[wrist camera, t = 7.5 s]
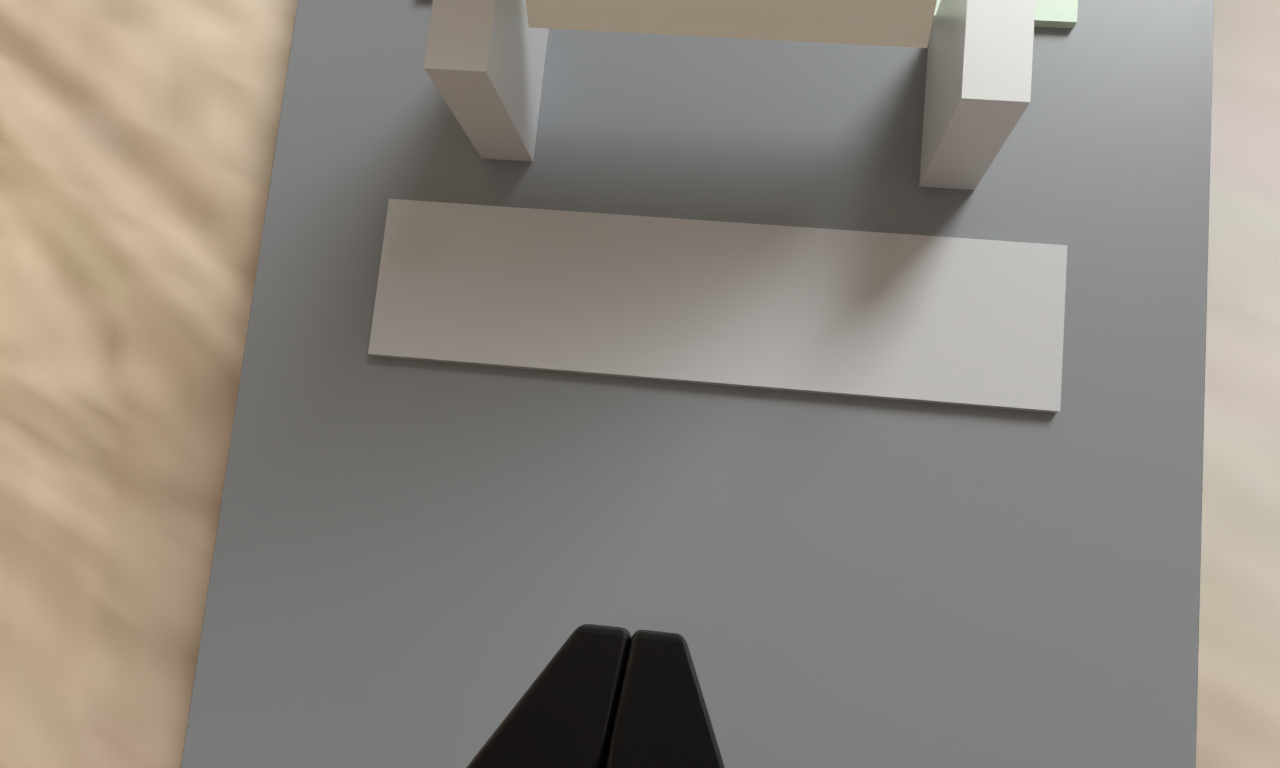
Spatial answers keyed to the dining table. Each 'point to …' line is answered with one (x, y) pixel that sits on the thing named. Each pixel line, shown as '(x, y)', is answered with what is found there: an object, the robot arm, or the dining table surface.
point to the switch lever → (748, 19)
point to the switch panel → (725, 387)
